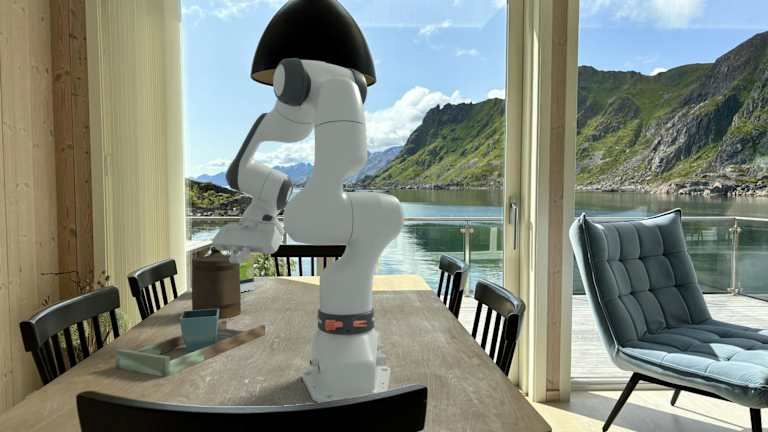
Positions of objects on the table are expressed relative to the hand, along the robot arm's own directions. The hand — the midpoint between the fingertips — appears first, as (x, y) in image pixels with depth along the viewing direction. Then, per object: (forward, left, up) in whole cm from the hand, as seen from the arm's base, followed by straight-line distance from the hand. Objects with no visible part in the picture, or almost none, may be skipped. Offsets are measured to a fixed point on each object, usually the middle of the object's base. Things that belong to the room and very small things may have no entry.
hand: (234, 262), depth 144 cm
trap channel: (-12, +7, -20) cm, 24 cm away
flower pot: (-12, +7, -20) cm, 24 cm away
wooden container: (+26, +10, -20) cm, 35 cm away
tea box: (+62, +11, -20) cm, 66 cm away
